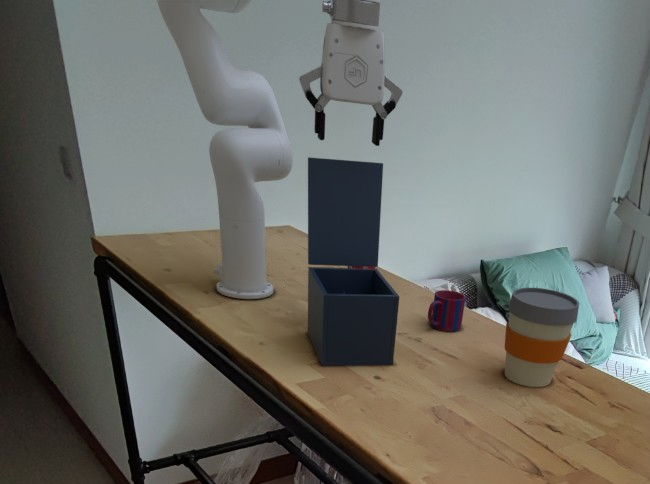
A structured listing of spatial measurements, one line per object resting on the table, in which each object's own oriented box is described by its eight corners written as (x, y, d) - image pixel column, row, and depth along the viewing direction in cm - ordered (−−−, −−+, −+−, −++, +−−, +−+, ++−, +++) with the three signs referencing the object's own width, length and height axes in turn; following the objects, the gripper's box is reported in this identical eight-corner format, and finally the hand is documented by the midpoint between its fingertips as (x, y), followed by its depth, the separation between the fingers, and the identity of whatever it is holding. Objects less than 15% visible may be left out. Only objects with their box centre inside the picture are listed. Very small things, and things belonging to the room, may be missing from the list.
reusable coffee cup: (483, 366, 126) (498, 287, 117) (537, 362, 131) (555, 286, 122) (516, 393, 118) (535, 311, 108) (572, 388, 122) (595, 308, 113)
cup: (467, 328, 142) (472, 297, 138) (435, 336, 137) (439, 304, 133) (445, 319, 146) (450, 288, 142) (413, 326, 140) (417, 294, 136)
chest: (393, 364, 122) (399, 296, 114) (321, 365, 118) (323, 294, 111) (372, 332, 134) (377, 268, 127) (307, 332, 131) (308, 266, 123)
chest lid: (383, 163, 117) (382, 163, 117) (308, 157, 113) (307, 157, 114) (377, 266, 126) (376, 266, 127) (308, 264, 122) (307, 263, 123)
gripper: (303, 7, 96) (301, 140, 107) (414, 24, 101) (401, 150, 111) (297, 7, 102) (295, 133, 112) (402, 23, 106) (391, 143, 117)
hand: (348, 141), depth 112 cm, fingers open, 9 cm apart
